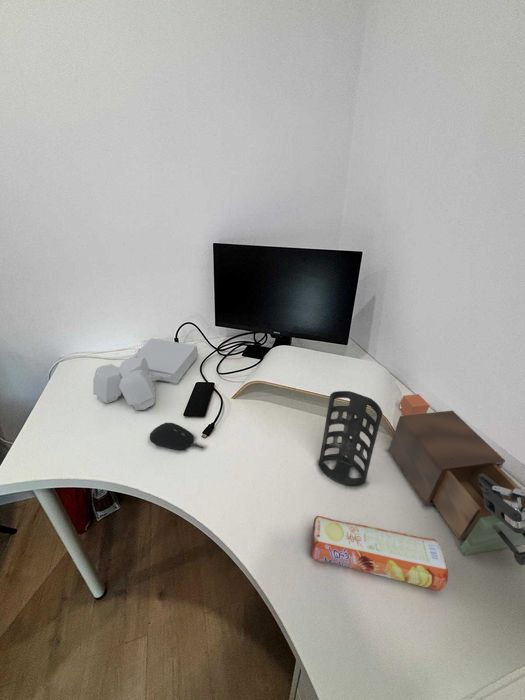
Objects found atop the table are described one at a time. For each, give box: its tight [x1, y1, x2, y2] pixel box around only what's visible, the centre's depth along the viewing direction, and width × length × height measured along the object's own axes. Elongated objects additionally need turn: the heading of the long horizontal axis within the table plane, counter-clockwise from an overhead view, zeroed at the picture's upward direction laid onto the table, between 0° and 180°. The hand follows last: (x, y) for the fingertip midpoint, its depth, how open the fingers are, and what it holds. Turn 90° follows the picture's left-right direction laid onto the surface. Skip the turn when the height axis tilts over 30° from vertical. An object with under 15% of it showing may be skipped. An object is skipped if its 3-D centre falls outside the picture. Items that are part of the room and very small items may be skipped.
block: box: [400, 393, 430, 416], centre depth 84 cm, size 5×5×5 cm
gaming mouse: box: [149, 422, 204, 451], centre depth 74 cm, size 6×15×4 cm, turn 72°
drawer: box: [431, 464, 525, 566], centre depth 54 cm, size 18×12×10 cm
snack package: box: [309, 515, 449, 592], centre depth 50 cm, size 21×7×7 cm, turn 77°
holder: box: [318, 390, 384, 487], centre depth 64 cm, size 11×8×20 cm
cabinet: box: [388, 410, 506, 507], centre depth 65 cm, size 15×14×12 cm
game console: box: [92, 338, 199, 411], centre depth 95 cm, size 20×32×13 cm, turn 164°
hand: (507, 474), depth 48 cm, fingers open, 8 cm apart
